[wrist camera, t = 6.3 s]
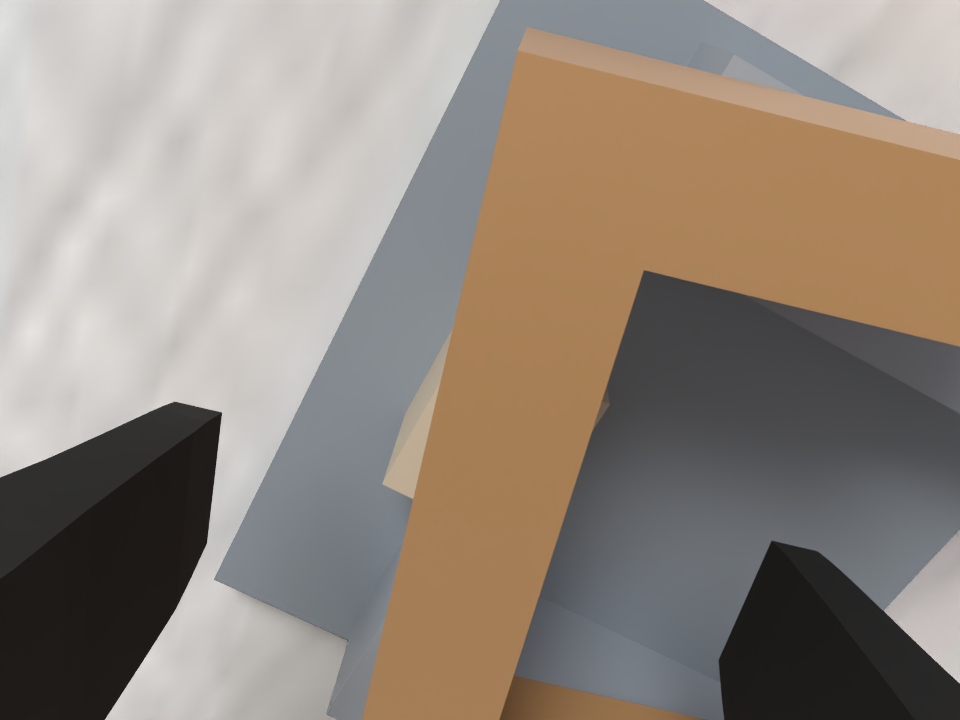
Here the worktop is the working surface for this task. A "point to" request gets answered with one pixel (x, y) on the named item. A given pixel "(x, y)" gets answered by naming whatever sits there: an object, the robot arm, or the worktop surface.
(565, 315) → the tan c-shaped bracket
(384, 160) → the worktop surface
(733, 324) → the display stand
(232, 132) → the worktop surface
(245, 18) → the worktop surface
